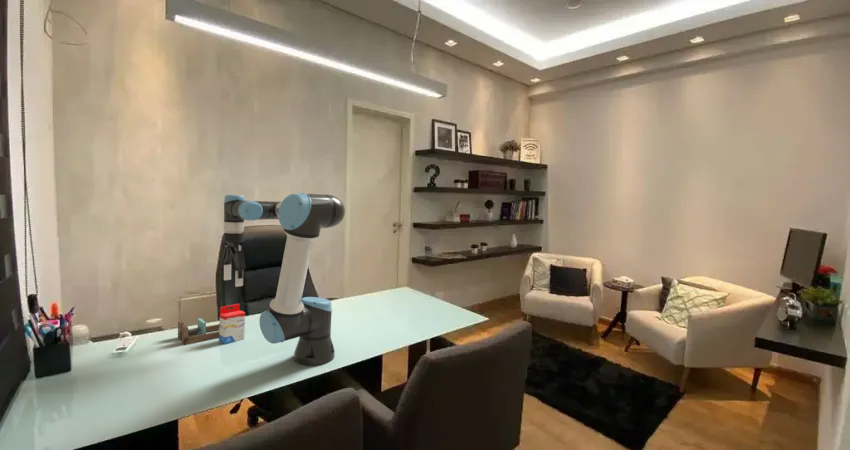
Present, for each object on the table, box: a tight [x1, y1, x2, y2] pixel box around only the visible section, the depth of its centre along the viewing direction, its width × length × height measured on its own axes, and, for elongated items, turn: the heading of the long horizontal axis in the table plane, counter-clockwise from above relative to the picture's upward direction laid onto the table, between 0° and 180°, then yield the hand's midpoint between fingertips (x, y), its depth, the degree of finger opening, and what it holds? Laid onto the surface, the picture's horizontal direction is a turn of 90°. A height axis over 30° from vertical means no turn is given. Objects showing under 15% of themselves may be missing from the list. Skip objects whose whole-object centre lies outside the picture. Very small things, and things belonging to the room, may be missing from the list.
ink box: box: [218, 303, 246, 345], centre depth 160 cm, size 8×5×15 cm, turn 143°
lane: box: [177, 320, 220, 346], centre depth 164 cm, size 10×20×7 cm, turn 135°
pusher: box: [188, 317, 207, 335], centre depth 160 cm, size 7×7×7 cm
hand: (233, 283), depth 159 cm, fingers open, 13 cm apart
